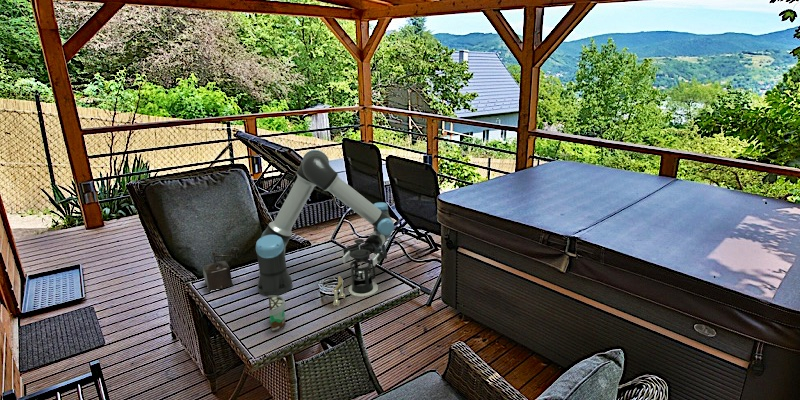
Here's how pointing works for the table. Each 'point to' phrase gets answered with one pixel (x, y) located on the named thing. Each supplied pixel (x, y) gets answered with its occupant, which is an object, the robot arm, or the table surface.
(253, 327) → the table surface
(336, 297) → the ceiling spotlight
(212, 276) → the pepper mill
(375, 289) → the coaster
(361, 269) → the french press
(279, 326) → the food container
